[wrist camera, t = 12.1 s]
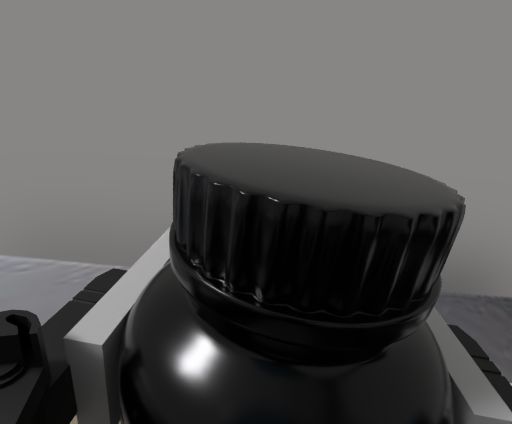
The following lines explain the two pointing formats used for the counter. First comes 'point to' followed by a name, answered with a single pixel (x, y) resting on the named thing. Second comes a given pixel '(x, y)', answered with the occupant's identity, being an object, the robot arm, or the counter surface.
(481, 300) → the counter surface
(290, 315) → the supplement bottle
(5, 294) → the counter surface
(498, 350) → the counter surface
